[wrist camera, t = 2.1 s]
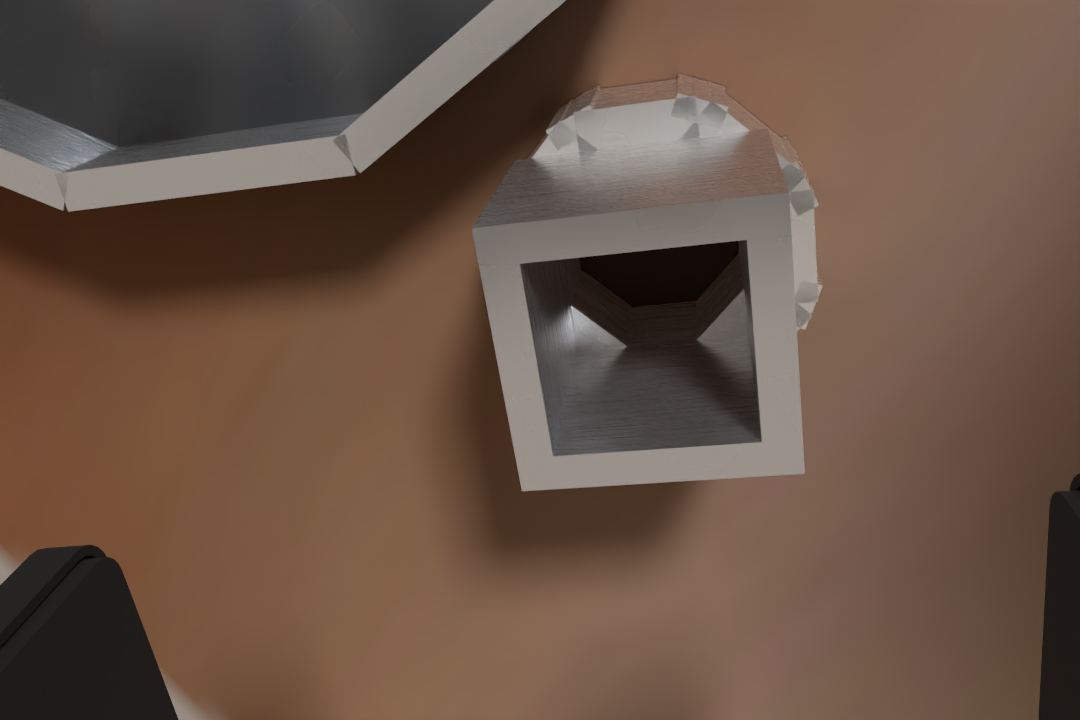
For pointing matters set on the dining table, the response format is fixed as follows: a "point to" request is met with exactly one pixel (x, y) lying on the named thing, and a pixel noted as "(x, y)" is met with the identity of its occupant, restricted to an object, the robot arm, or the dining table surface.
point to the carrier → (227, 89)
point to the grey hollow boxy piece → (654, 330)
